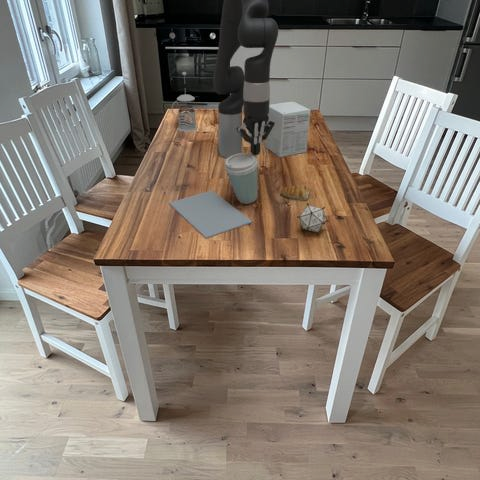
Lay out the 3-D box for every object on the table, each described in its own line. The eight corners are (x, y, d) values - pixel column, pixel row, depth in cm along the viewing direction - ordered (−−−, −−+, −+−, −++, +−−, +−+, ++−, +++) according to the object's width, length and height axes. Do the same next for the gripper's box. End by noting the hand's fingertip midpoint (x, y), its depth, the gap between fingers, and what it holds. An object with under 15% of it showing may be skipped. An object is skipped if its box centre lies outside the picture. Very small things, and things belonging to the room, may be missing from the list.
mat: (168, 203, 134) (168, 202, 133) (211, 191, 141) (211, 190, 141) (206, 238, 117) (206, 237, 117) (252, 222, 125) (252, 221, 124)
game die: (303, 239, 124) (292, 207, 124) (331, 229, 123) (320, 197, 123) (305, 241, 115) (293, 207, 115) (334, 231, 114) (322, 196, 114)
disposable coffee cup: (248, 185, 141) (240, 146, 131) (271, 195, 134) (264, 155, 125) (226, 201, 137) (215, 162, 127) (248, 212, 130) (239, 172, 120)
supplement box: (307, 152, 170) (311, 109, 161) (279, 157, 166) (282, 114, 156) (290, 141, 180) (293, 100, 170) (263, 146, 175) (265, 104, 166)
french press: (197, 132, 189) (194, 74, 175) (171, 131, 189) (166, 74, 175) (199, 125, 197) (196, 69, 183) (174, 124, 197) (170, 69, 183)
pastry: (279, 199, 137) (280, 189, 135) (281, 190, 143) (282, 180, 141) (308, 201, 136) (309, 191, 134) (308, 192, 142) (309, 182, 139)
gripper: (266, 90, 124) (264, 146, 134) (229, 97, 118) (230, 155, 127) (282, 96, 119) (279, 153, 129) (245, 104, 113) (244, 163, 122)
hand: (255, 154), depth 128 cm, fingers closed
